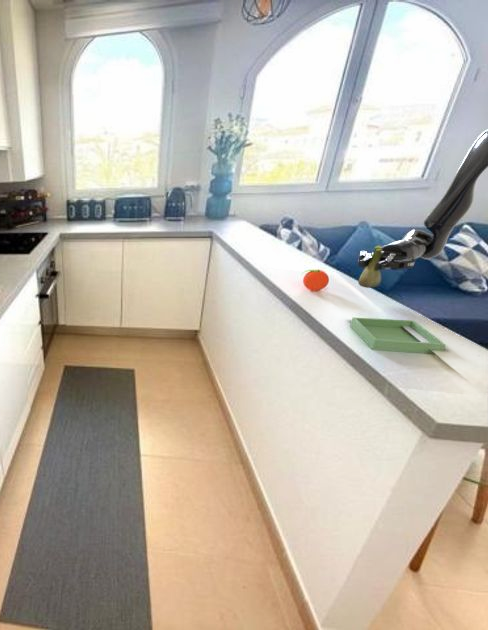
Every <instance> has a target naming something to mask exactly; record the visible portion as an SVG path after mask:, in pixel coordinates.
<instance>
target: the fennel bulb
mask: <svg viewBox="0 0 488 630" xmlns="http://www.w3.org/2000/svg"><path fill="white" fill-rule="evenodd" d="M373 248H374V249H373V251H372V252H373V256H372V260H371V261H370V263H369V264H368V266H366V267H364V269H363V270H362V272H361V274H360V276H359V278H358V282H357V283H358V285H359V286H360V287H362V288H365V289H366V288H367V289H370V288H371V289H372V288H375V287H378V286H379V285H380V284H381V282H382V274H381V270H379V271H377V270H375V268H376V265H377V263H379V260H380V257H381V253H382V249H383V246H382V245H376V246H375V247H373Z"/></svg>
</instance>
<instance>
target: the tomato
mask: <svg viewBox="0 0 488 630" xmlns="http://www.w3.org/2000/svg"><path fill="white" fill-rule="evenodd" d="M306 272H307V273H306ZM304 273H305V275H304V276H303V279H302V283H303V285H304V287H305V289H307V290H309V291H314V292H318V291H321V290H324V289H325V288H326V287H327V286H328V284H329V281H330V278H329V275H328V274H327V273H326V271H324V270H322V269H308V270H304V271H303V272H302V274H304Z"/></svg>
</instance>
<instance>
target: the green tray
mask: <svg viewBox="0 0 488 630" xmlns="http://www.w3.org/2000/svg"><path fill="white" fill-rule="evenodd" d="M349 327H350V328H351V329H352V330H353V331H354V332H355V334H357V336H358V337H359V338H361V340H362V341H363V342H364V343H365V344H366V345H367V346H368V348H370V349H371V350H373V351H387V352H399V353H400V352H402V353H415V354H427V353H428V354H427V355H436V353H435V351H433V350H439V351H444V350H445V347H446V346H447V344H446V343H444V342H443V341H442V340H440V339H439V338H438V337H436V336H435V335H434V334H433V333H431V332H430V331H429V330H428V329H425V328H424V327H423V326H421V325H420V324H419V323H418V322H417V321H415V320H412V319H411V320H410V319H409V320H407V319H390V318H373V317H371V318H370V317H355V316H353V317H352V319H351V320H350V323H349ZM405 327H411V328H412V329H413V330H414V331H416V333H419V334H420V335H421V337H423V338H425V339H426V340H427V341H428V342H427V341H425V342H423V341H421V340H420V339H418V338H417V337H416V336H414V335H413V334H412V333H411V332H410V331H408V329H406V328H405Z"/></svg>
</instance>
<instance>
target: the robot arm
mask: <svg viewBox="0 0 488 630" xmlns="http://www.w3.org/2000/svg"><path fill="white" fill-rule="evenodd" d="M486 169H488V129H486V130H484V131H483V132H482V133H481V134H480V135H479V136H478V137H477V139H476V140H475V141H474V142H473V144H472V145H471V147H470V148H469V149H468V152H467V154H466V155H465V157H464V159H463V161H462V163H461V164H460V166H459V168H458V170H457V172H456V173H455V175H454V177H453V179H452V181H451V183H450V184H449V187H447V189H446V191H445V193H444V194H443V195H442V198H441V199H440V200H438V203H436V205H435V206H434V208H433V209H432V210H431V211H430V213H429V214H428V215H427V216H426V218H425V219H424V221H423V227H425V228H426V229H427V230H428V231H429V232H427V231H424V230H421V229H412V230H410V231H409V232H407V233H406V234H404V236H403V237H402V238H401V240H397V241H393V242H391V243H389V244H386V245H383V246H382V247H383V249H382V253H381V257H380V260H379V263H377V265H376V268H375V270H377V271H379V270H380V271H382V270H392V271H399V270H408V269H413V267H414V265H415V263H416V259H418V258H422V259H423V260H431V259H434V258H436V257H438V256H439V255H440V254H441V253H442V252H443V250H444V249H445V247H446V244H447V242H448V239H449V237H450V235H451V233H452V231H453V230H454V228H455V227H456V226H457V224H458V223H459V222H460V221H461V220H462V219H463V218H464V217H465V215H467V213H468V212H469V210H470V208H471V207H472V204H473V202H474V197H475V196H474V195H475V187H476V183H477V181H478V179H479V178H480V176H481V175H482V174H483V172H484V171H485V170H486ZM431 233H432V234H431ZM373 252H374V251H372V252H371V253H368V252H367V251H366V250H360V252H359V255H358V259H357V263H358V266H359V268H362V269H363V268H366V267H367V266H368V264H369V263H370V261H371V260H372V256H373Z"/></svg>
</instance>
